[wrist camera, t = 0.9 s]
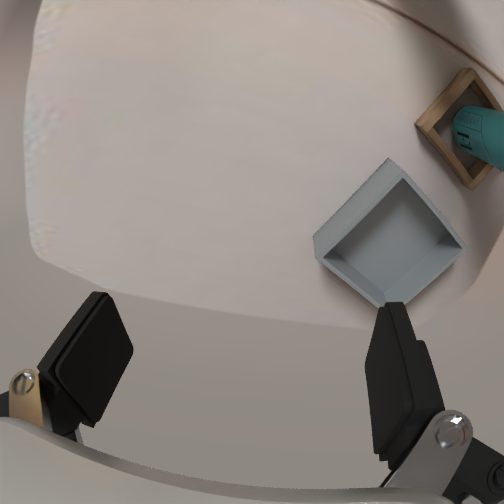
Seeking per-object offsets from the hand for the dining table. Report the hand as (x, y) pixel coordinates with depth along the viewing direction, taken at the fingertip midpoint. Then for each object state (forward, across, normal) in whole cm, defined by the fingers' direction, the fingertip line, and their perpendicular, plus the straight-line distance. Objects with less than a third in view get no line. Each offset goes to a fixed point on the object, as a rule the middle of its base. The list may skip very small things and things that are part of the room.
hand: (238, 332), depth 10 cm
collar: (+29, -24, -4) cm, 38 cm away
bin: (+29, -14, +11) cm, 34 cm away
